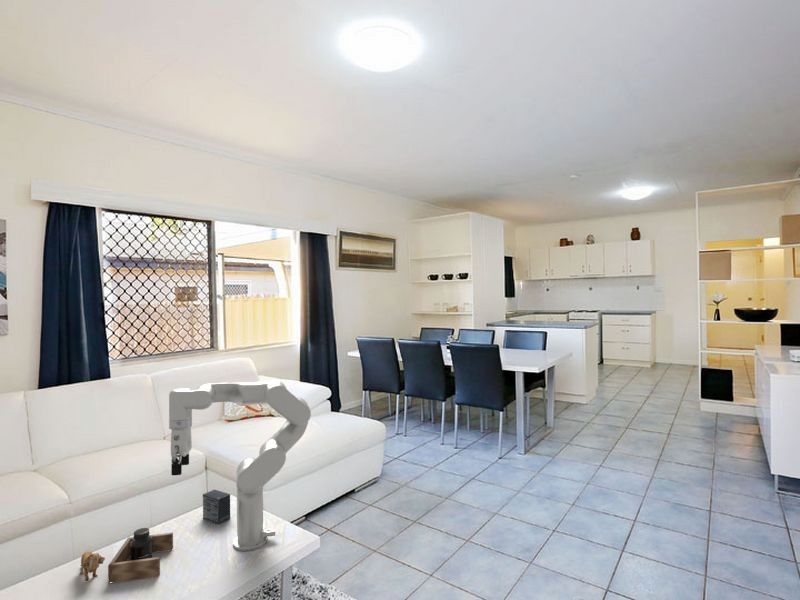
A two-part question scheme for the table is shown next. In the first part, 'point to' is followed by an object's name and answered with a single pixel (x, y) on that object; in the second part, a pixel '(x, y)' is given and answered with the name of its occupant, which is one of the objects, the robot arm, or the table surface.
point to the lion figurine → (90, 563)
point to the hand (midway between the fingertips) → (180, 469)
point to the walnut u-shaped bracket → (138, 561)
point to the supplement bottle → (141, 545)
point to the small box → (216, 506)
